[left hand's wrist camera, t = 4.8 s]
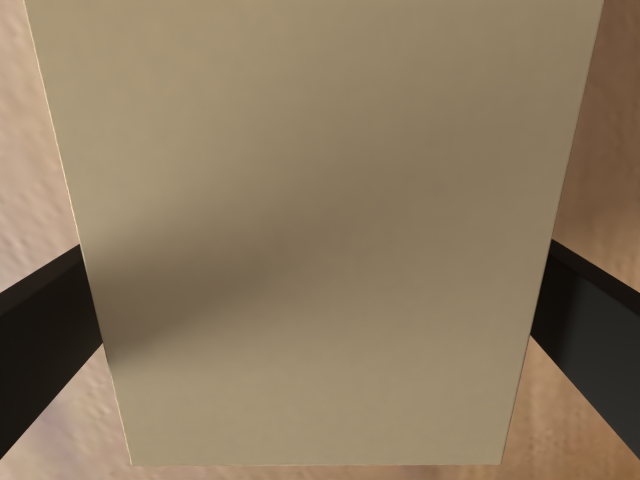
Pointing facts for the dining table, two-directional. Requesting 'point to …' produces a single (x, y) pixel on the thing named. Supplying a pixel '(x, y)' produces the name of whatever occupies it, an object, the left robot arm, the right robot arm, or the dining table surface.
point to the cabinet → (314, 215)
